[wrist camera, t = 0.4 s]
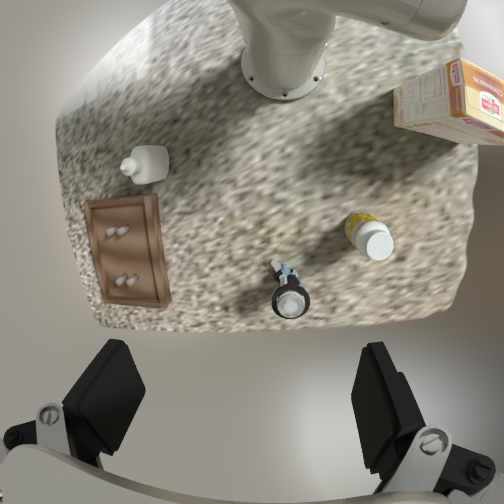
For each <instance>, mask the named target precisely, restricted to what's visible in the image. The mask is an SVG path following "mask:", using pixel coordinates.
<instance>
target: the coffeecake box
mask: <svg viewBox="0 0 504 504" xmlns="http://www.w3.org/2000/svg"><path fill="white" fill-rule="evenodd" d="M393 95H394V126H395V127H399V128H404V129H408V130H412V131H416V132H420V133H424V134H428V135H431V136H435V137H439V138H442V139H446V140H449V141H452V142H456V143H459V144H485V145H501V146H504V81H502V80H501V79H499V78H498V77H496V76H494V75H492V74H491V73H489V72H487V71H486V70H484V69H482V68H480V67H478V66H476V65H475V64H473V63H471V62H469V61H467V60H465V59H463V58H461V57H459V58H458V59H455V60H453V61H451V62H449V63H446V64H444V65H442V66H440V67H438V68H435V69H433V70H431V71H429V72H427V73H425V74H422V75H420V76H418V77H416V78H414V79H412V80H410V81H408V82H406V83H404V84H402V85H400V86H398V87H396V88H394V89H393Z"/></svg>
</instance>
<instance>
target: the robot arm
mask: <svg viewBox="0 0 504 504" xmlns="http://www.w3.org/2000/svg"><path fill="white" fill-rule="evenodd" d="M226 1H227V2H228V3H229V4H230V5H231V7H232V8H233V10H234V12H235V15H236V17H237V20H238V23H239V26H240V30H241V33H242V36H243V39H244V43H245V46H246V48H245V49H244V51H243V54H242V57H241V68H242V72H243V75H244V77H245V79H246V81H247V82H248V83H249V85H250V86H251V87H252V88H253V89H254V90H255V91H257V92H258V93H260V94H262V95H263V96H266V97H268V98H271V99H276V100H295V99H299V98H302V97H304V96H306V95H308V94H310V93H311V92H312V91H314V90H315V89H316V88H317V86H318V85H319V84H320V82H321V81H322V78H323V76H324V72H325V61H324V57H323V52H324V50H325V48H326V45H327V43H328V41H329V39H330V37H331V35H332V33H333V30H334V27H335V23H336V15H337V16H342V17H346V18H350V19H354V20H358V21H361V22H365V23H369V24H372V25H375V26H378V27H381V28H385V29H387V30H391V31H394V32H397V33H399V34H402V35H405V36H408V37H411V38H414V39H418V40H424V41H435V40H439V39H442V38H444V37H446V36H447V35H448V34H450V33H451V32H452V31H453V29H454V28H455V27H456V26H457V24H458V22H459V20H460V19H461V17H462V15H463V12H464V10H465V7H466V4H467V0H226ZM251 79H254V80H253V81H251ZM314 79H316V80H317V81H314ZM284 94H286V97H284V96H283V95H284ZM144 395H145V386H144V384H143V381H142V379H141V377H140V375H139V372H138V370H137V368H136V365H135V363H134V361H133V358H132V356H131V353H130V350H129V348H128V346H127V345H126V344H125V343H124V341H122V340H117V339H109V340H108V341H107V343H106V344H105V345H104V346H103V348H102V349H101V350H100V352H99V353H98V354H97V355H96V357H95V358H94V359H93V361H92V362H91V363H90V364H89V366H88V367H87V368H86V370H85V371H84V373H83V374H82V375H81V377H80V378H79V379H78V380H77V382H76V383H75V384H74V386H73V387H72V389H71V390H70V391H69V393H68V394H67V396H66V397H65V398H64V400H63V401H62V404H63V405H64V406H63V407H61V406H60V405H58V404H56V403H49V404H46V405H44V406H42V407H41V408H40V409H39V411H38V412H37V415H36V420H34V421H31V422H27V423H23V424H20V425H16V426H13V427H10V428H9V429H8V430H7V431H6V432H5V435H4V439H3V440H2V439H0V504H504V475H503V474H502V473H499V474H497V473H495V472H496V469H495V464H494V462H493V460H491V459H490V458H489V457H487V456H485V455H482V454H479V453H476V452H473V451H470V450H468V449H465V448H462V447H459V446H457V445H454V444H452V436H451V434H450V432H449V431H448V430H447V429H446V428H444V427H442V426H440V425H428V426H426V424H425V422H424V419H423V417H422V414H421V412H420V409H419V407H418V405H417V402H416V400H415V398H414V395H413V393H412V391H411V388H410V386H409V384H408V382H407V380H406V378H405V376H404V374H403V373H402V372H397V370H396V368H395V366H394V364H393V362H392V360H391V357H390V355H389V353H388V351H387V349H386V347H385V345H384V343H383V342H374V343H368V344H367V347H364V348H363V349H362V353H361V357H360V361H359V366H358V370H357V374H356V378H355V382H354V386H353V390H352V393H351V400H352V405H353V410H354V414H355V418H356V423H357V428H358V433H359V438H360V443H361V448H362V453H363V458H364V464H365V467H366V469H369V468H370V472H371V474H375V473H379V476H380V479H381V480H382V481H381V482H380V484H379V485H378V487H377V488H376V489H375V491H374V492H373V494H372V495H366V496H359V497H353V498H346V499H338V500H329V501H318V502H304V503H249V502H235V501H225V500H217V499H209V498H202V497H197V496H191V495H186V494H181V493H176V492H171V491H168V490H163V489H160V488H156V487H152V486H148V485H145V484H142V483H138V482H135V481H132V480H129V479H126V478H123V477H120V476H117V475H115V474H112V473H109V472H107V471H104V469H103V466H102V463H101V460H100V457H99V454H100V452H102V453H105V454H108V455H110V456H112V455H113V454H114V451H117V450H118V449H119V447H120V445H121V442H122V440H123V438H124V436H125V434H126V432H127V430H128V428H129V426H130V423H131V422H132V419H133V417H134V415H135V413H136V411H137V409H138V407H139V405H140V403H141V401H142V399H143V397H144Z"/></svg>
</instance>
